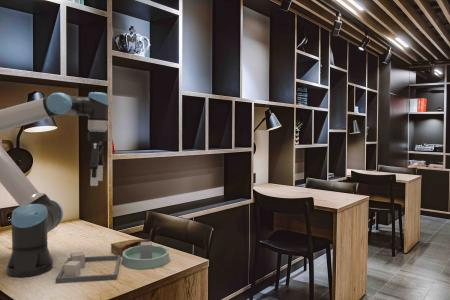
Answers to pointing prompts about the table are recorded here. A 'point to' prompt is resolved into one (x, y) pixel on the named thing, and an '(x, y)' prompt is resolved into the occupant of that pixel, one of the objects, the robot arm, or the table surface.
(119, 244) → the stone
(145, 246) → the grey square pillar
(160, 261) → the bowl
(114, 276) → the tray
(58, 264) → the table surface
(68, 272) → the light grey block
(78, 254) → the pale grey block
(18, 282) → the table surface
